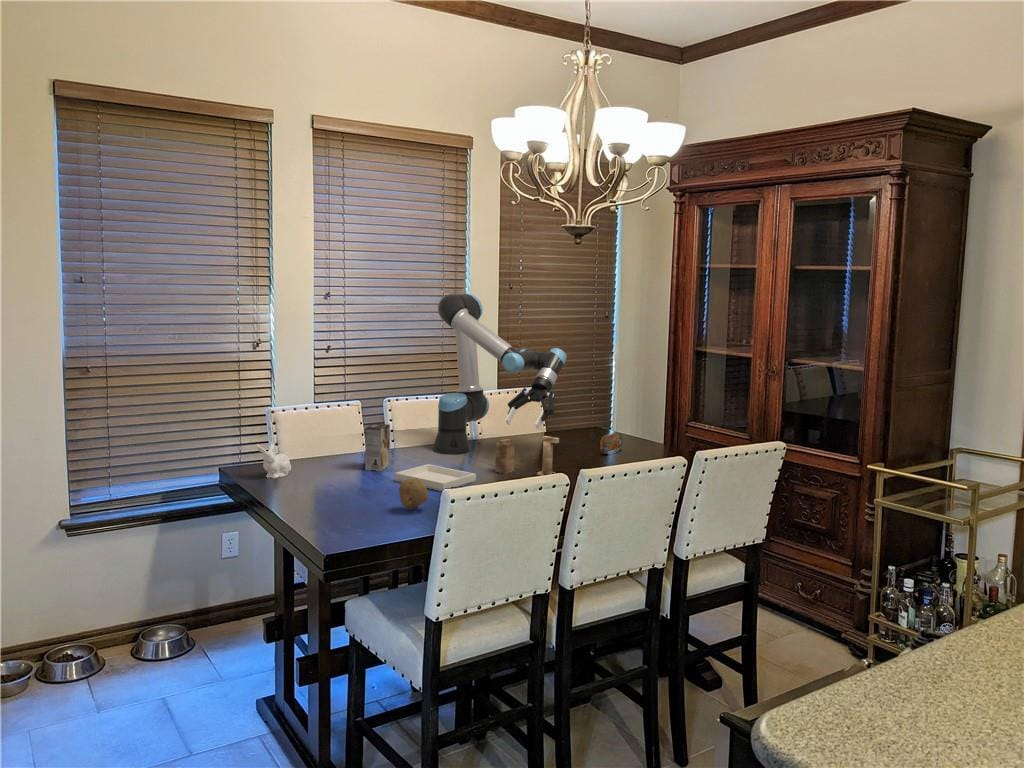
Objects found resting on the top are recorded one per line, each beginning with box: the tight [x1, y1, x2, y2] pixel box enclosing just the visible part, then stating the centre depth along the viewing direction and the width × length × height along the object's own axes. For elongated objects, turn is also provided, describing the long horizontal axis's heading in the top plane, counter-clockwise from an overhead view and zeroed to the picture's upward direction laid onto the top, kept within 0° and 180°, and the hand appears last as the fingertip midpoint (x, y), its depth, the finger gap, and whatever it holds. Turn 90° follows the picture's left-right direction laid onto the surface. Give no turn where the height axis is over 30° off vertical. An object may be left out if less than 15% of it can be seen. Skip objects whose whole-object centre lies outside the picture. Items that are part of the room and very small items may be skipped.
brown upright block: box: [494, 438, 516, 473], centre depth 304 cm, size 5×5×12 cm
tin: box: [599, 432, 623, 453], centre depth 344 cm, size 15×3×8 cm, turn 143°
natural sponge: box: [398, 478, 429, 511], centre depth 252 cm, size 9×9×10 cm
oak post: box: [537, 435, 560, 475], centre depth 300 cm, size 8×7×15 cm
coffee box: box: [364, 423, 391, 472], centre depth 303 cm, size 9×6×16 cm
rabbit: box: [256, 441, 292, 479], centre depth 288 cm, size 12×9×12 cm
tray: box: [394, 463, 477, 493], centre depth 287 cm, size 22×18×3 cm
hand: (521, 424), depth 311 cm, fingers open, 13 cm apart
